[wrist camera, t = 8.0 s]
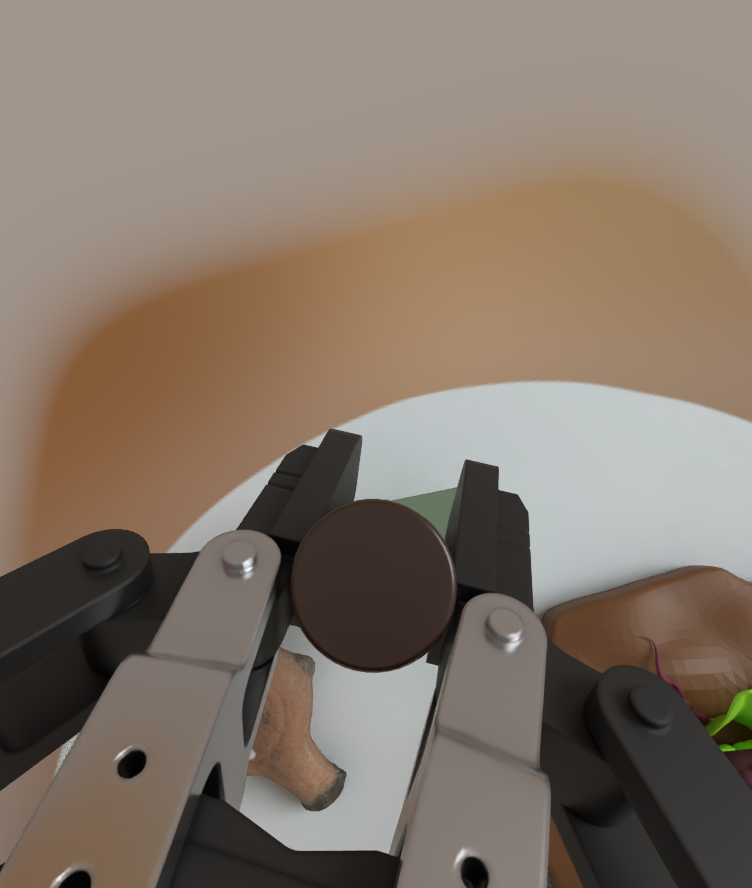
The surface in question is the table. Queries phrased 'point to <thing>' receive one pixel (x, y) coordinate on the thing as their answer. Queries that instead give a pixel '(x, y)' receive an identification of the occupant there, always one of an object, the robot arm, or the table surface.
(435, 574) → the brown cylindrical peg
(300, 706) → the oil lamp
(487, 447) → the table surface
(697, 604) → the plant
